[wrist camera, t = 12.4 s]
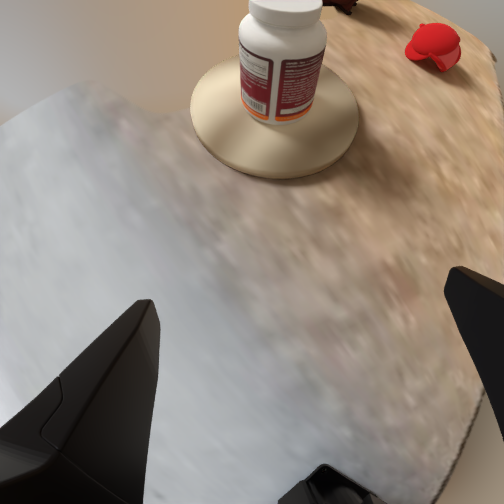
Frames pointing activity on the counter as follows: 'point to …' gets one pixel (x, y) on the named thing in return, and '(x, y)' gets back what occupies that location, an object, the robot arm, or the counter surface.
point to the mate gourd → (341, 4)
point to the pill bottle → (280, 58)
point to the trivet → (273, 126)
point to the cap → (435, 45)
